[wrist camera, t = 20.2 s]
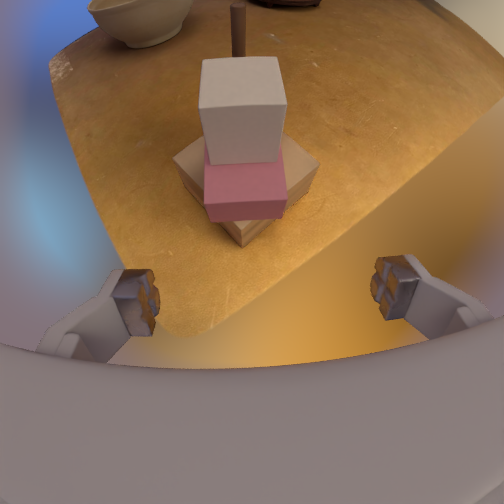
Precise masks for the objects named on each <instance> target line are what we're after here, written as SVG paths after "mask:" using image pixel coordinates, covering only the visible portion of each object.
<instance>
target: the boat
mask: <svg viewBox="0 0 504 504" xmlns="http://www.w3.org/2000/svg"><path fill="white" fill-rule="evenodd" d="M230 11H231V36H232V58H217V59H206V60H203V61H202V68H201V79H200V90H199V103H198V110H199V115H200V120H201V124H202V129H203V133H204V138H205V149H204V205H205V208H206V211H207V214H208V216H209V219H210V222H211V223H212V222H228V221H245V220H264V219H281V218H282V216H283V213H284V210H285V207H286V204H287V201H288V194H287V186H286V179H285V171H284V163H283V156H282V149H281V137H282V131H283V126H284V120H285V115H286V109H287V100H286V95H285V91H284V86H283V81H282V77H281V72H280V68H279V64H278V59H277V57H245V31H246V5H245V4H244V3H233V4H231V5H230Z"/></svg>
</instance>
